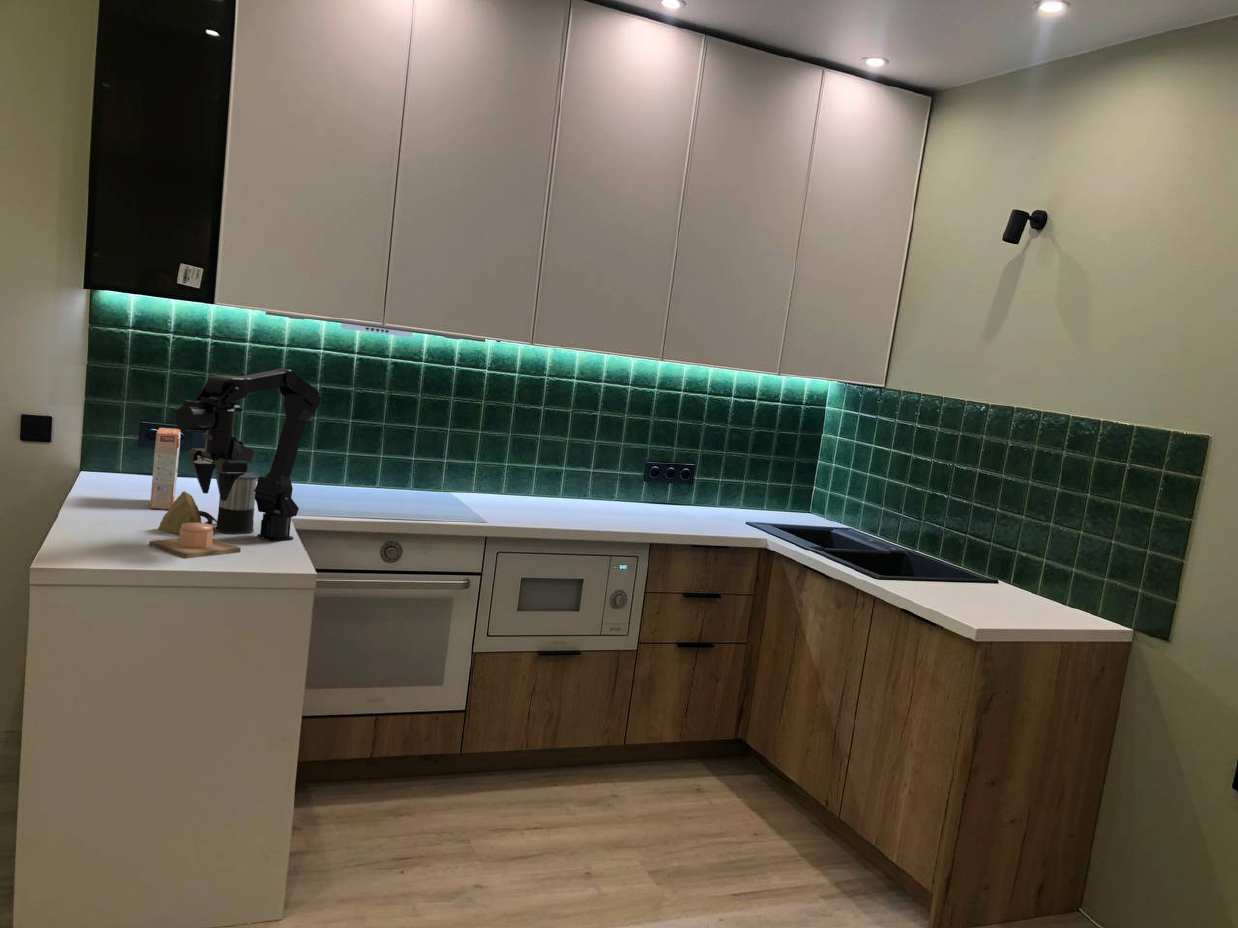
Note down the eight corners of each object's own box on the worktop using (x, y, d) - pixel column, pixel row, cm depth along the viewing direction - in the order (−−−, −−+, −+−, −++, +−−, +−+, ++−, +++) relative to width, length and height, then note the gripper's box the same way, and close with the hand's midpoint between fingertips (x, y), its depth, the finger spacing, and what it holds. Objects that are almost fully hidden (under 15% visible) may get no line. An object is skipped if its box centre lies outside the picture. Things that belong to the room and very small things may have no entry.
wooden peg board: (203, 539, 239) (204, 523, 238) (240, 551, 231) (241, 535, 231) (149, 545, 227) (150, 528, 226) (186, 558, 220) (187, 540, 219)
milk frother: (259, 534, 253) (264, 477, 251) (195, 535, 242) (200, 475, 241) (239, 523, 263) (244, 468, 262) (177, 523, 253) (181, 466, 252)
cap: (184, 547, 224) (185, 528, 224) (176, 541, 230) (178, 522, 229) (214, 547, 228) (216, 528, 228) (206, 541, 234) (208, 522, 233)
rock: (215, 528, 243) (204, 514, 251) (196, 501, 239) (186, 488, 246) (175, 553, 239) (165, 539, 247) (155, 527, 235) (145, 513, 242)
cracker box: (173, 510, 268) (179, 434, 266) (149, 509, 266) (154, 432, 264) (175, 501, 281) (181, 428, 279) (152, 500, 279) (158, 426, 277)
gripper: (272, 437, 229) (266, 503, 231) (234, 426, 242) (228, 489, 243) (226, 436, 221) (220, 504, 223) (188, 424, 234) (183, 489, 235)
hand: (214, 496), depth 231 cm, fingers open, 9 cm apart
